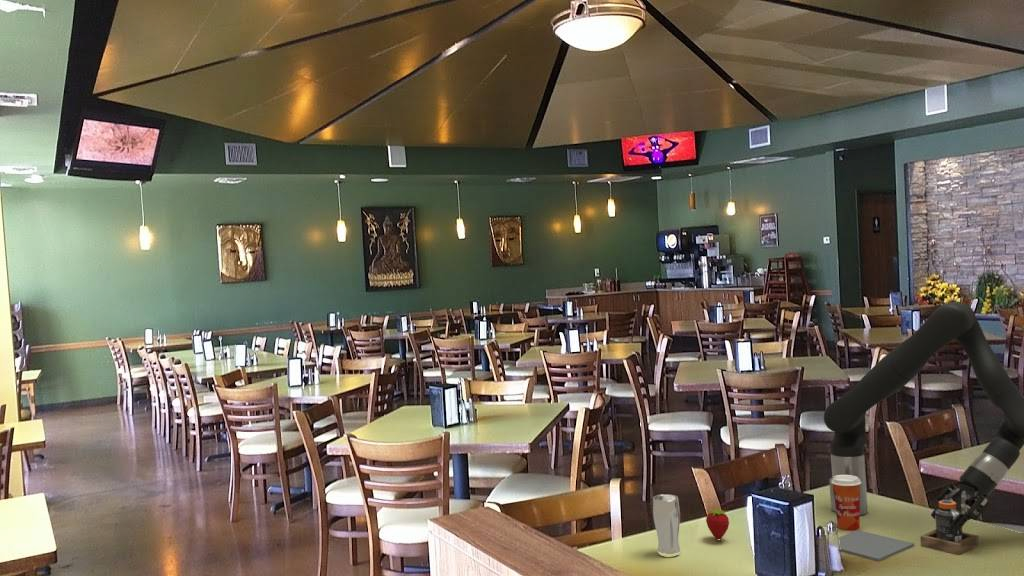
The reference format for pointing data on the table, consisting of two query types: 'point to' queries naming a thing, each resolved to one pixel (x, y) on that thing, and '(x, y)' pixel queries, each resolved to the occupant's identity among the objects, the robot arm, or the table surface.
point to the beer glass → (667, 522)
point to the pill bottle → (947, 521)
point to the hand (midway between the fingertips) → (943, 523)
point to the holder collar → (950, 543)
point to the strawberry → (717, 523)
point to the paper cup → (847, 501)
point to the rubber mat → (872, 545)
